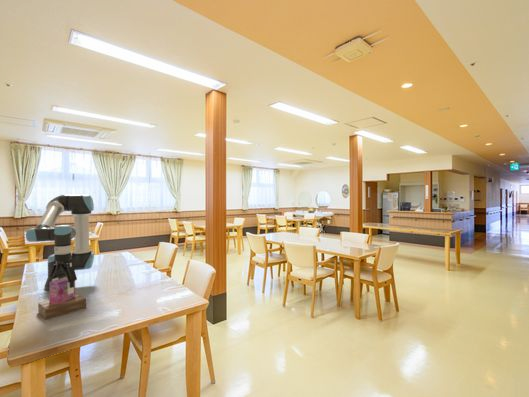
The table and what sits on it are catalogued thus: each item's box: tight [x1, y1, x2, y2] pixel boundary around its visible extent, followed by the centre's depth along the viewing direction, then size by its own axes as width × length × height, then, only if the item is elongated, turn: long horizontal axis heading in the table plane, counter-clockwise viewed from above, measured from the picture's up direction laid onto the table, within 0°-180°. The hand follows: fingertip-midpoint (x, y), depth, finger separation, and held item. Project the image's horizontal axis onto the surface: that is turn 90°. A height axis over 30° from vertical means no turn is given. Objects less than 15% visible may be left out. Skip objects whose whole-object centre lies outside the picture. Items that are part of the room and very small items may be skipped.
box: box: [48, 277, 76, 305], centre depth 146 cm, size 10×6×12 cm, turn 166°
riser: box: [37, 292, 87, 320], centre depth 146 cm, size 14×18×6 cm
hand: (62, 291), depth 146 cm, fingers open, 13 cm apart
